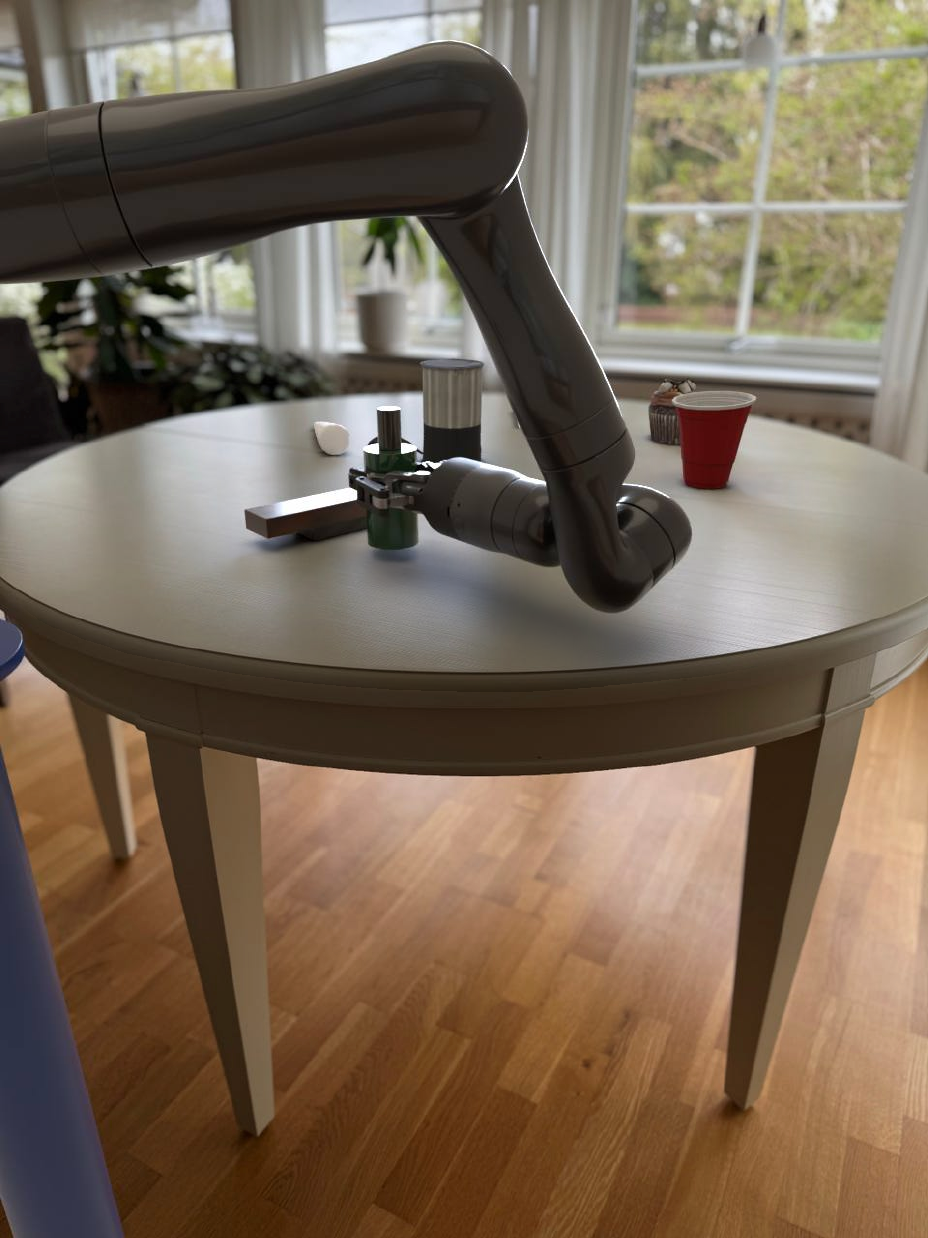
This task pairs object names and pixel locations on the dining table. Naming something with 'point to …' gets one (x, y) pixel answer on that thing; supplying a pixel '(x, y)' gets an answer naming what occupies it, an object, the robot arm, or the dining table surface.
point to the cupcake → (667, 410)
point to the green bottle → (384, 459)
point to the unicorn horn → (332, 437)
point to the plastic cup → (711, 434)
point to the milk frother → (451, 410)
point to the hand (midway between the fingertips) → (376, 472)
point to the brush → (309, 516)
